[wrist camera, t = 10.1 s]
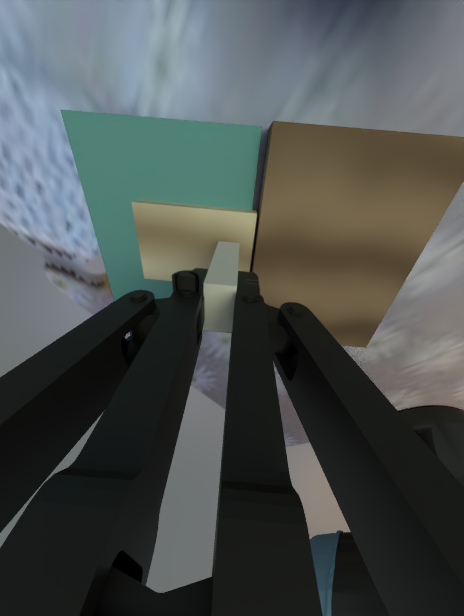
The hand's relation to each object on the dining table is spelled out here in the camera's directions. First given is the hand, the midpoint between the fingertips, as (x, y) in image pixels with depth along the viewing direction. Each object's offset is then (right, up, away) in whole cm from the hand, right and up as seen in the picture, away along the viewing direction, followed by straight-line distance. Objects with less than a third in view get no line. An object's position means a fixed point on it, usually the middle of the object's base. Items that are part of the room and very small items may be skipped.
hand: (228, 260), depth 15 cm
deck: (+8, +1, +3) cm, 9 cm away
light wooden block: (-3, +2, +2) cm, 4 cm away
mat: (-5, +2, +3) cm, 6 cm away
